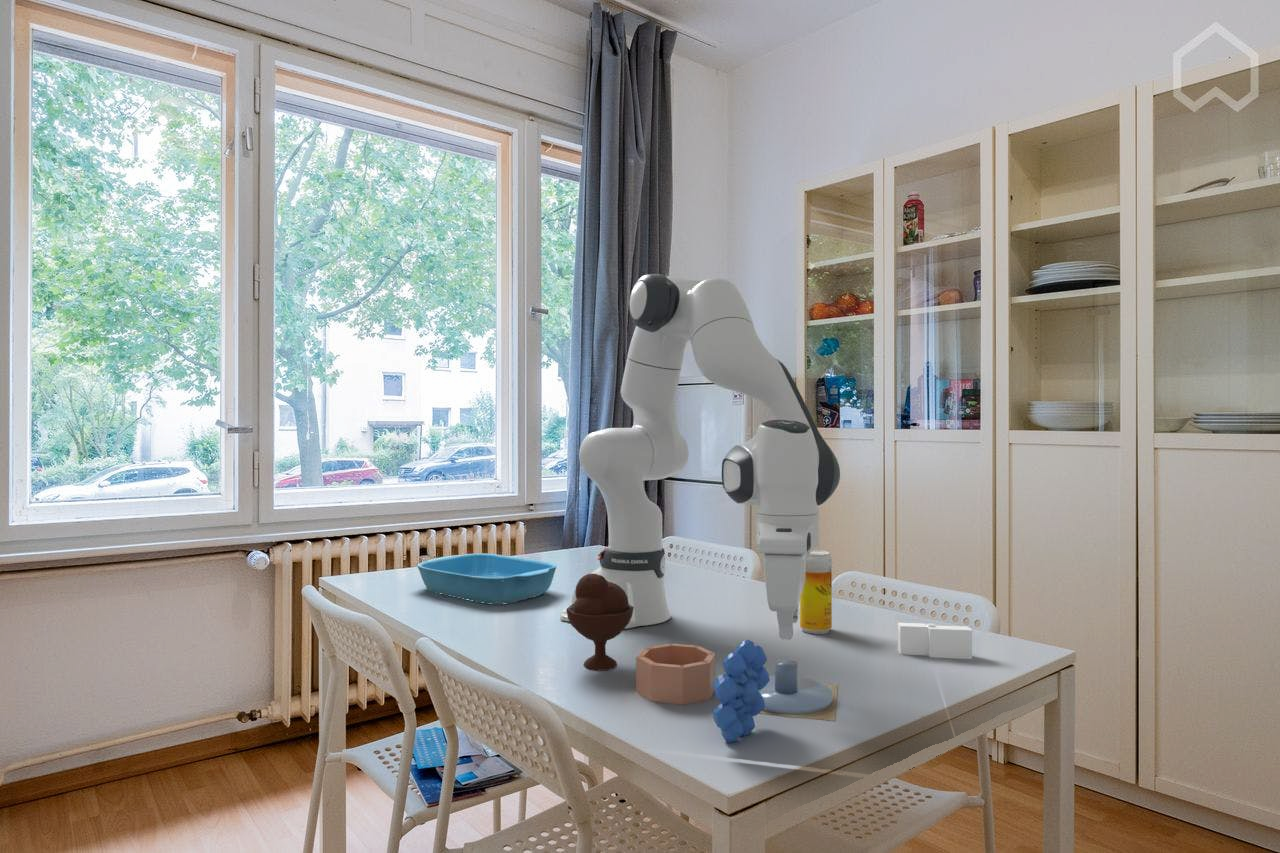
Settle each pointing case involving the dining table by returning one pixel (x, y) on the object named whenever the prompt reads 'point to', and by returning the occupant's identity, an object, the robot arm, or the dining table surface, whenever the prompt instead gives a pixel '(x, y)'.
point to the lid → (794, 692)
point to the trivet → (822, 715)
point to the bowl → (675, 673)
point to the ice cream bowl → (599, 616)
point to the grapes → (740, 690)
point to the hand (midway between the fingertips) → (789, 629)
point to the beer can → (817, 594)
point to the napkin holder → (935, 640)
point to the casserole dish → (487, 577)
